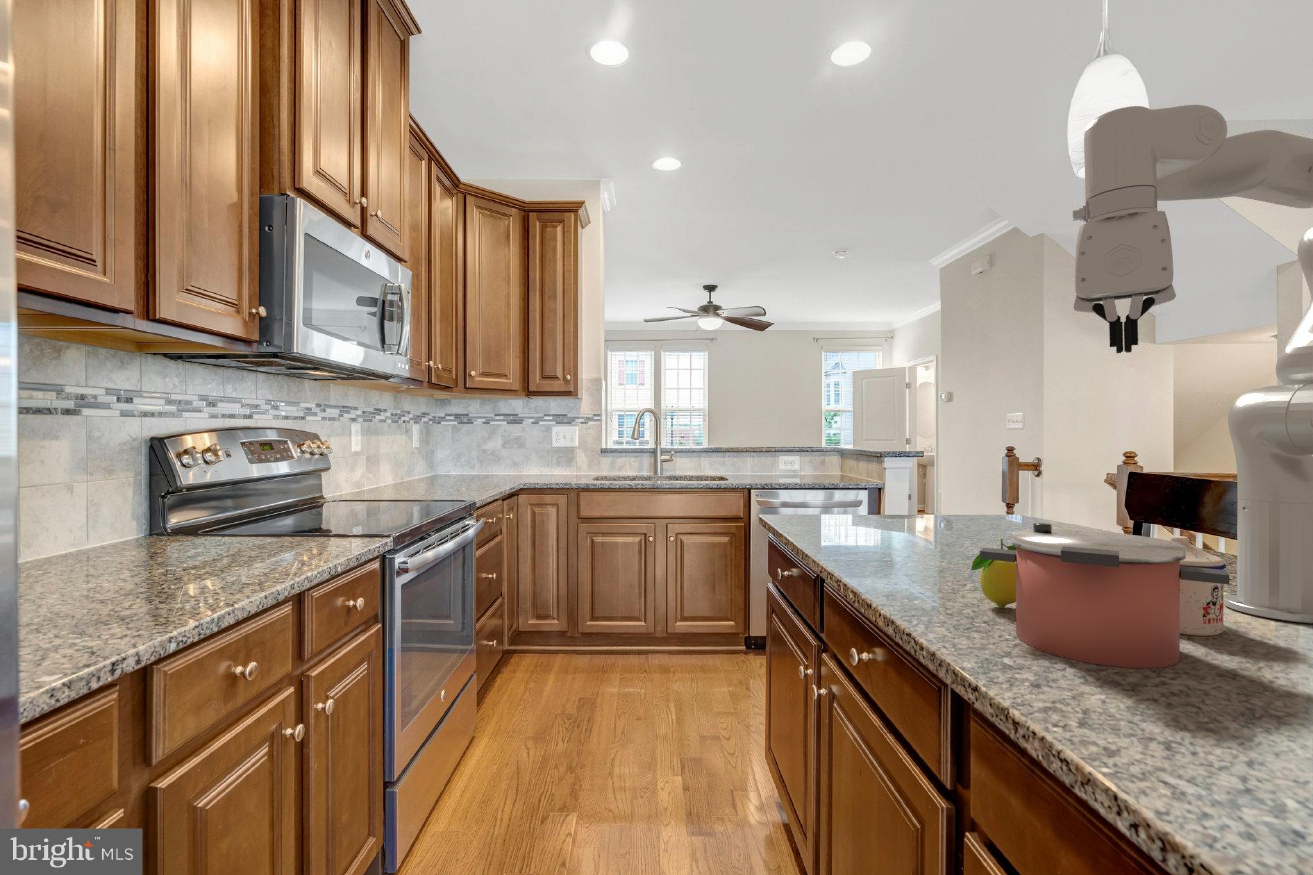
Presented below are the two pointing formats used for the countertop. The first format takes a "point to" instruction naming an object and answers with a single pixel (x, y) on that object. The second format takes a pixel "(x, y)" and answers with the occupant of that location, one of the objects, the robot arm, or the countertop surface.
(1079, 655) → the cooker pot
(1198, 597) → the teacup with lid
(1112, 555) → the cooker lid
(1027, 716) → the countertop surface
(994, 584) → the lemon
